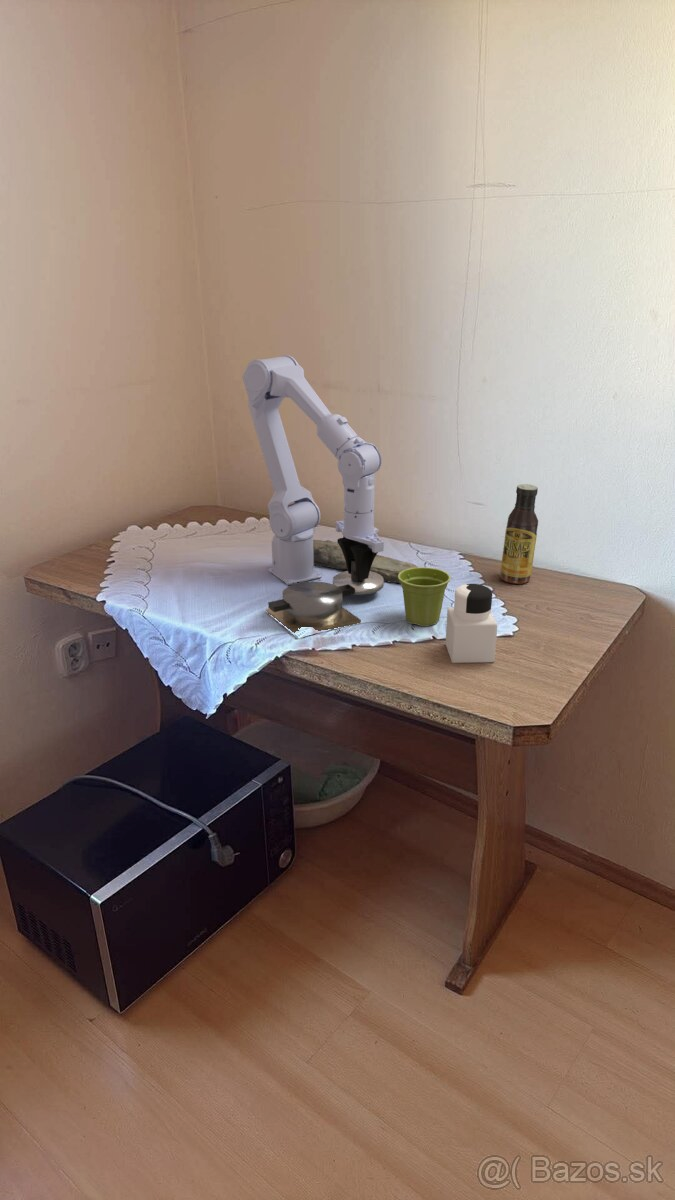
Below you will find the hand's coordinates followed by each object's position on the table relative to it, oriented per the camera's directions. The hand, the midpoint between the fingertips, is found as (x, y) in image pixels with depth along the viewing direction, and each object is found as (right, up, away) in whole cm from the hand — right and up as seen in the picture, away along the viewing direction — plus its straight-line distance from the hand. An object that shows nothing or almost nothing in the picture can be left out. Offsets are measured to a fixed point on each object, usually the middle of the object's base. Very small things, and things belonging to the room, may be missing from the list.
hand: (358, 575), depth 157 cm
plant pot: (+12, -9, -9) cm, 17 cm away
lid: (0, -2, +1) cm, 2 cm away
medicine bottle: (+18, -14, -22) cm, 32 cm away
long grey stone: (-1, +2, +16) cm, 16 cm away
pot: (-9, -8, -8) cm, 14 cm away
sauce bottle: (+33, -1, +8) cm, 34 cm away
